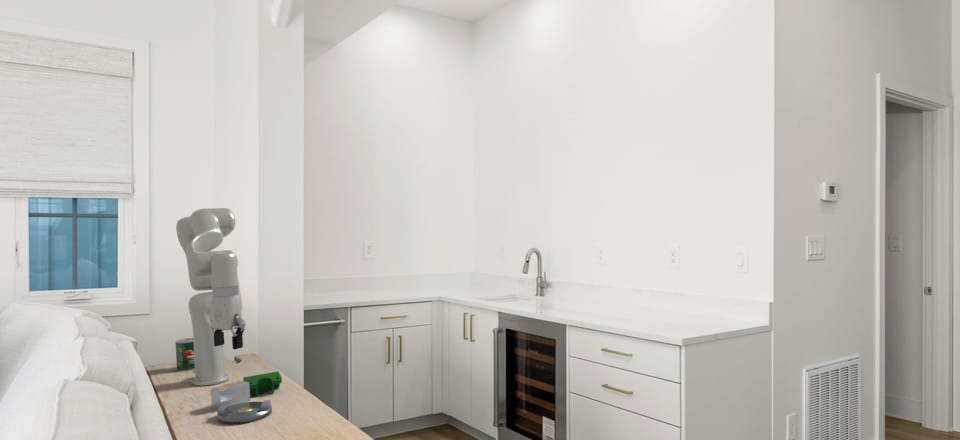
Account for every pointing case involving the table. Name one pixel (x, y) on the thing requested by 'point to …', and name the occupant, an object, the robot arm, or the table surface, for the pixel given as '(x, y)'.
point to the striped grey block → (230, 394)
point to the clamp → (263, 382)
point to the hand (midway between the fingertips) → (228, 346)
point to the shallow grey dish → (244, 412)
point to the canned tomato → (185, 354)
